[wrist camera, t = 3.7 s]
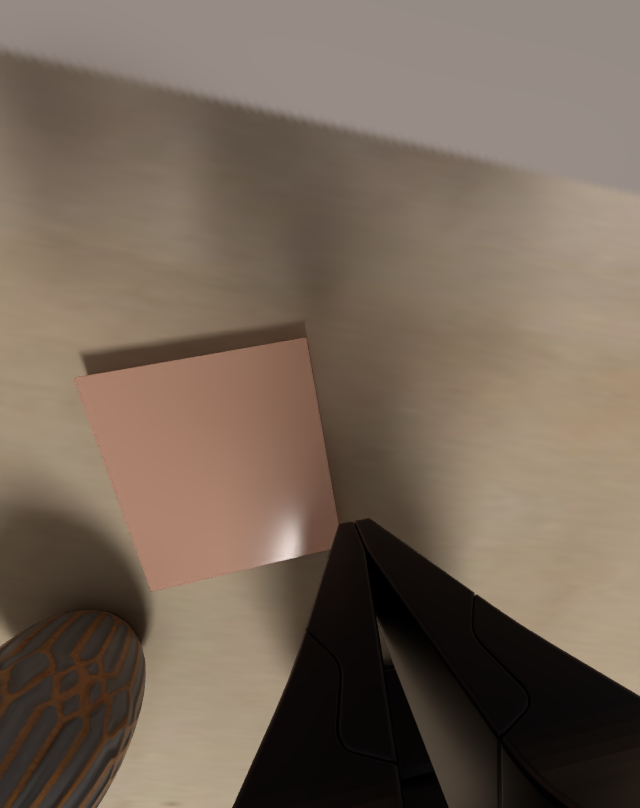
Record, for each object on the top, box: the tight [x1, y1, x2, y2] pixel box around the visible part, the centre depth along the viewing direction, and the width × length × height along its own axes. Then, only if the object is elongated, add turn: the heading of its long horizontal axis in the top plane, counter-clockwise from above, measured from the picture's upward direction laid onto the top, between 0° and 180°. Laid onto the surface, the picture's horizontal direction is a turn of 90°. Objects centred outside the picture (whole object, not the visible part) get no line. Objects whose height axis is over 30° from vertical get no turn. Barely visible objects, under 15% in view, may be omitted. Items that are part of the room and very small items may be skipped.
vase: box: [0, 610, 146, 808], centre depth 11 cm, size 7×7×9 cm
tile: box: [73, 337, 339, 592], centre depth 14 cm, size 10×2×9 cm
